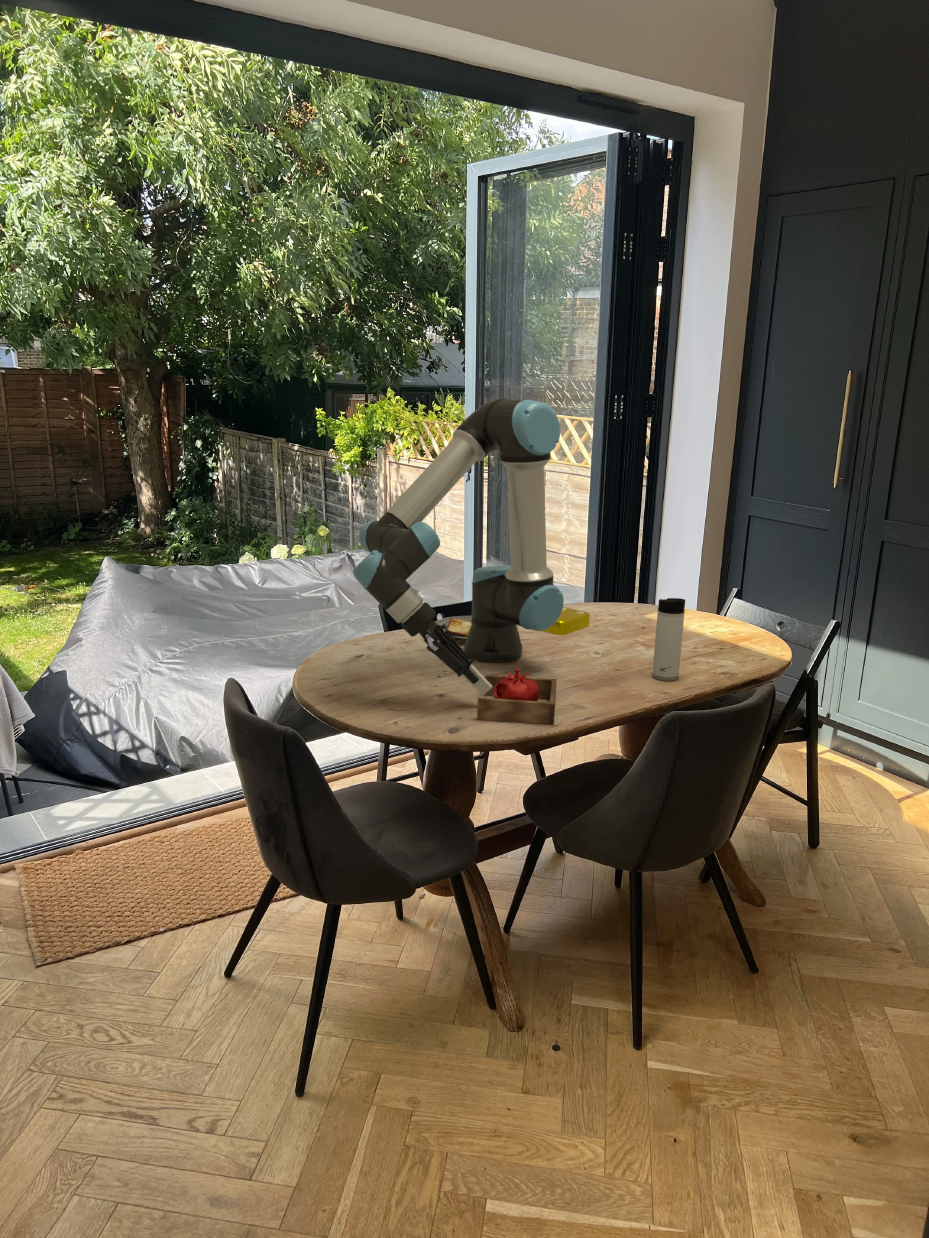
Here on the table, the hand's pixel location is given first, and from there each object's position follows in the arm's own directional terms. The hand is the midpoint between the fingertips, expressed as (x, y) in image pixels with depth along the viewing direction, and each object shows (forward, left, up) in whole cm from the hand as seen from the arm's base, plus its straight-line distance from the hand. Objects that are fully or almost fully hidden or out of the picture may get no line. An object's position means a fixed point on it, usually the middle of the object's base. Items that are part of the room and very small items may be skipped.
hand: (487, 690), depth 192 cm
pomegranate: (+5, +4, -4) cm, 7 cm away
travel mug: (+9, +48, -4) cm, 49 cm away
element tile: (-40, +58, -4) cm, 71 cm away
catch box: (+4, +4, -4) cm, 7 cm away
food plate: (-47, +33, -4) cm, 58 cm away
